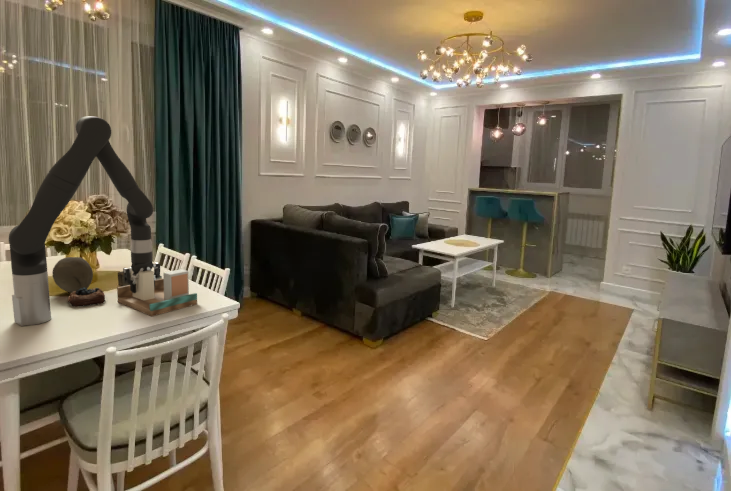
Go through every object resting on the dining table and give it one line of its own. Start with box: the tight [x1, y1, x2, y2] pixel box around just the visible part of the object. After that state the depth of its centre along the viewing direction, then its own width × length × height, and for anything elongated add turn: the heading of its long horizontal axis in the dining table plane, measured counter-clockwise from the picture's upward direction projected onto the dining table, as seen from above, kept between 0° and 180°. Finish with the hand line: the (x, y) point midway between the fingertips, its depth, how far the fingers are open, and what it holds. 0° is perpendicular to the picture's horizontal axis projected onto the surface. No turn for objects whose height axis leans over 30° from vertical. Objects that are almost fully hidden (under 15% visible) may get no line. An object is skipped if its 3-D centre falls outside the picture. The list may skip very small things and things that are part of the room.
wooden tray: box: [116, 277, 198, 317], centre depth 166 cm, size 19×24×6 cm
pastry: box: [67, 287, 106, 308], centre depth 162 cm, size 11×12×6 cm
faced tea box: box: [162, 268, 190, 300], centre depth 166 cm, size 8×5×11 cm, turn 147°
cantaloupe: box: [52, 256, 94, 294], centre depth 171 cm, size 14×14×15 cm
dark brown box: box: [117, 270, 163, 287], centre depth 185 cm, size 8×19×7 cm, turn 67°
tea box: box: [131, 270, 154, 301], centre depth 165 cm, size 8×5×11 cm, turn 57°
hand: (143, 290), depth 165 cm, fingers open, 6 cm apart
